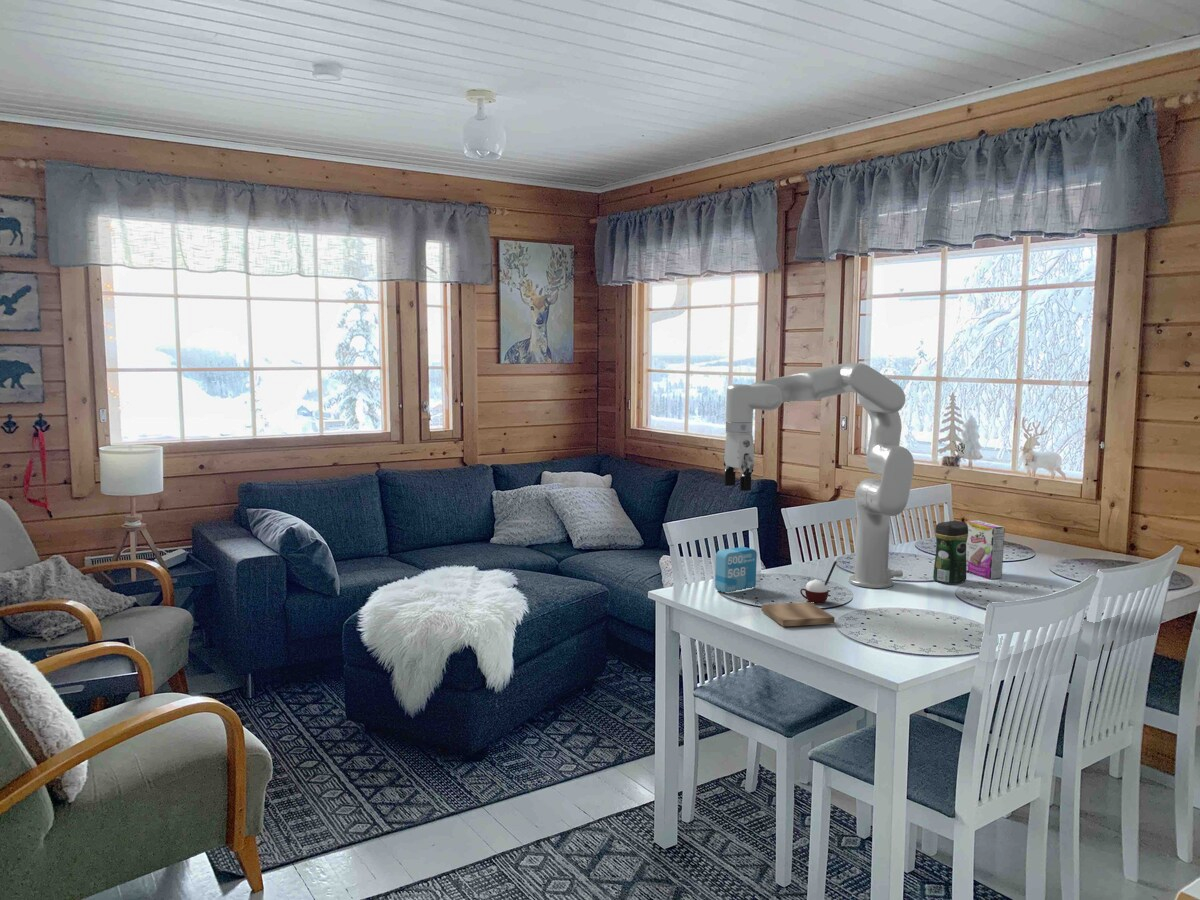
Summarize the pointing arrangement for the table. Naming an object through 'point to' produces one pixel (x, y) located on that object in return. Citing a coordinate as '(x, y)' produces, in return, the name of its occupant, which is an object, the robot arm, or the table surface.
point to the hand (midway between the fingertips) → (737, 487)
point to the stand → (797, 614)
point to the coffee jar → (950, 552)
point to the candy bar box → (985, 549)
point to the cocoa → (817, 589)
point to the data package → (735, 569)
